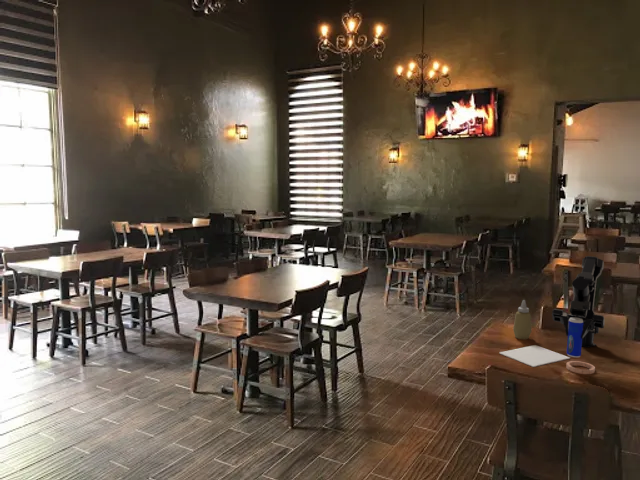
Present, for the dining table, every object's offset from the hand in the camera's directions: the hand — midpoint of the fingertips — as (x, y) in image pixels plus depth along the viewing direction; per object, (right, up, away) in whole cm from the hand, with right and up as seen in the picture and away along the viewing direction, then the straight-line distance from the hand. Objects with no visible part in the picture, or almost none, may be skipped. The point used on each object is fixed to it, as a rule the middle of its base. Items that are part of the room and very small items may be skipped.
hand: (574, 336), depth 209 cm
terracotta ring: (+3, -13, +1) cm, 13 cm away
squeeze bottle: (-5, -8, +40) cm, 42 cm away
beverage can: (+1, -8, +2) cm, 8 cm away
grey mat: (-9, -11, +16) cm, 21 cm away
